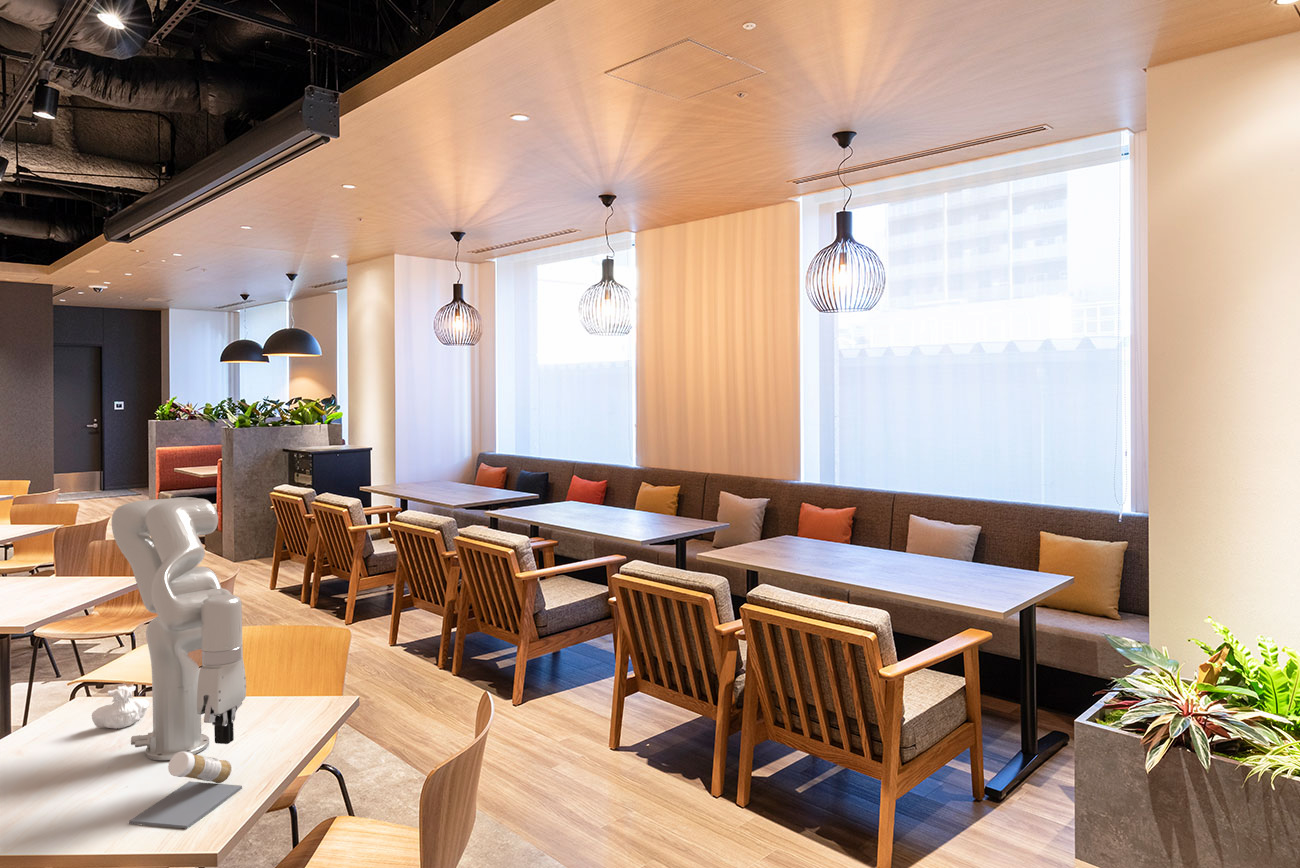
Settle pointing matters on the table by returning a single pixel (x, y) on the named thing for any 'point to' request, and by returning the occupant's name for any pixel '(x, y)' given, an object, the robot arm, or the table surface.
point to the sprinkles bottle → (199, 767)
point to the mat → (186, 805)
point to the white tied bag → (120, 709)
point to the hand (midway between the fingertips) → (224, 741)
